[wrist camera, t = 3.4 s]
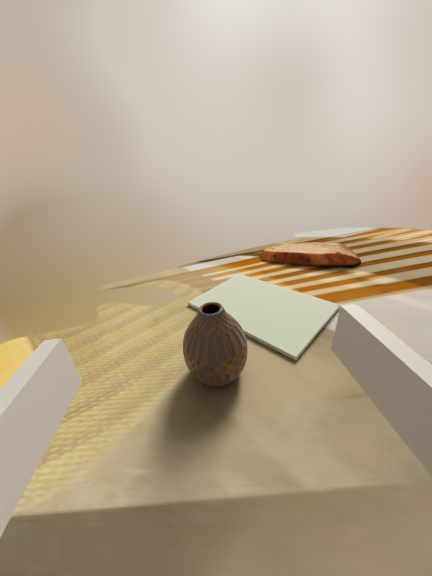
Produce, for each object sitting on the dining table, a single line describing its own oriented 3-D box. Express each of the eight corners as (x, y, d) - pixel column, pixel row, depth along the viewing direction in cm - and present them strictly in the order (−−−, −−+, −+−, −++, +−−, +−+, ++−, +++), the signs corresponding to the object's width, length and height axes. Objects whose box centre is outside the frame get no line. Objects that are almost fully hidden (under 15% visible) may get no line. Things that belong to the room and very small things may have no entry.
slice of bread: (254, 257, 58) (254, 243, 56) (308, 243, 64) (309, 230, 62) (305, 284, 43) (307, 266, 41) (369, 263, 49) (373, 246, 47)
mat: (339, 308, 35) (340, 304, 34) (295, 360, 26) (296, 357, 26) (239, 276, 48) (239, 273, 47) (188, 304, 39) (188, 302, 39)
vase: (217, 342, 30) (211, 284, 26) (260, 368, 26) (260, 304, 22) (176, 373, 26) (161, 311, 22) (217, 411, 22) (208, 342, 18)
